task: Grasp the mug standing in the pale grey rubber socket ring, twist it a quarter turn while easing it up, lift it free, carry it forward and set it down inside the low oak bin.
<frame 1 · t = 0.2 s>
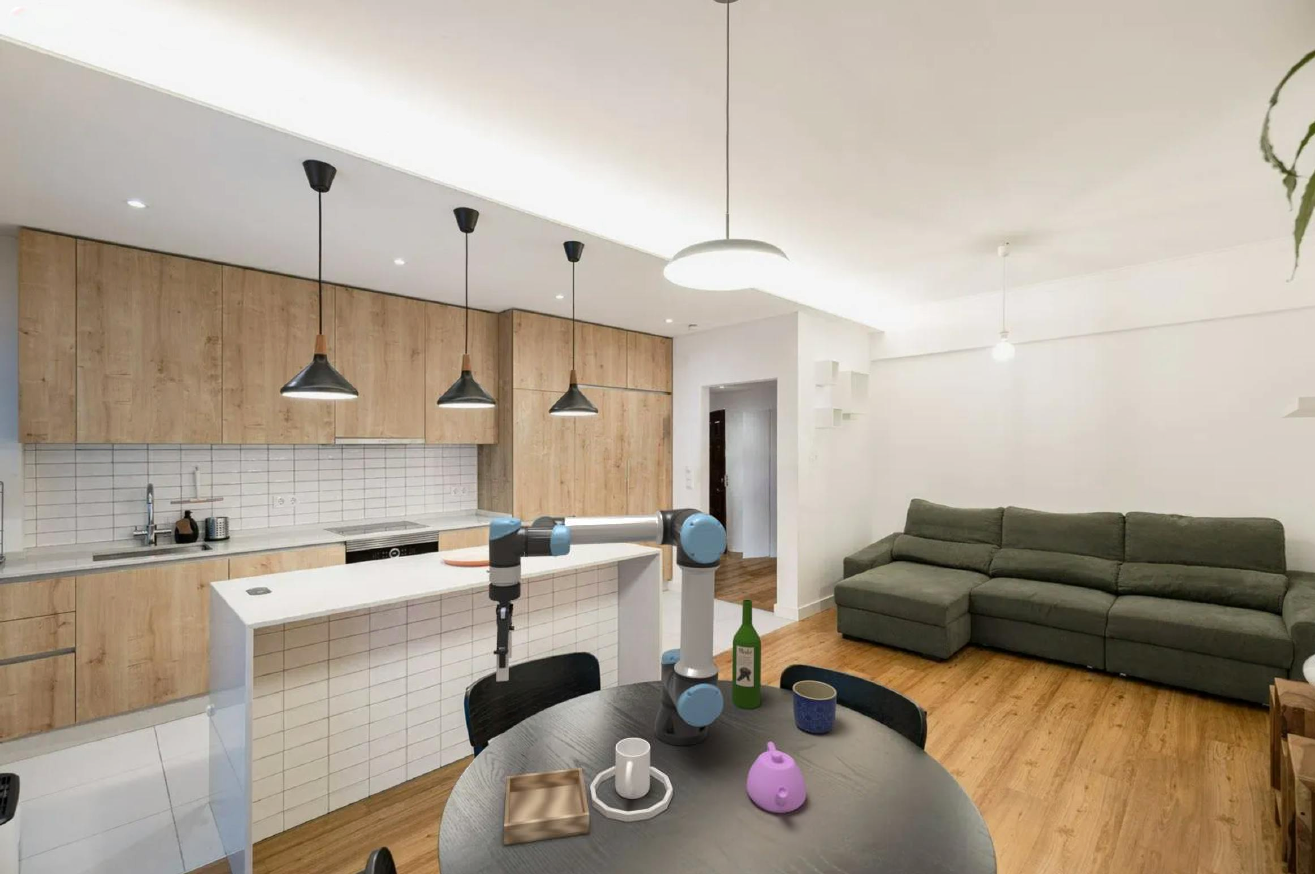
hand: (504, 668, 142), 28 cm above the table, fingers open, 13 cm apart
wine bottle: (746, 703, 185), on the table
planter: (813, 727, 170), on the table
oak bin: (545, 812, 131), on the table
socket ring: (631, 793, 138), on the table
mug: (631, 794, 138), resting in socket ring
teapot: (776, 800, 136), on the table
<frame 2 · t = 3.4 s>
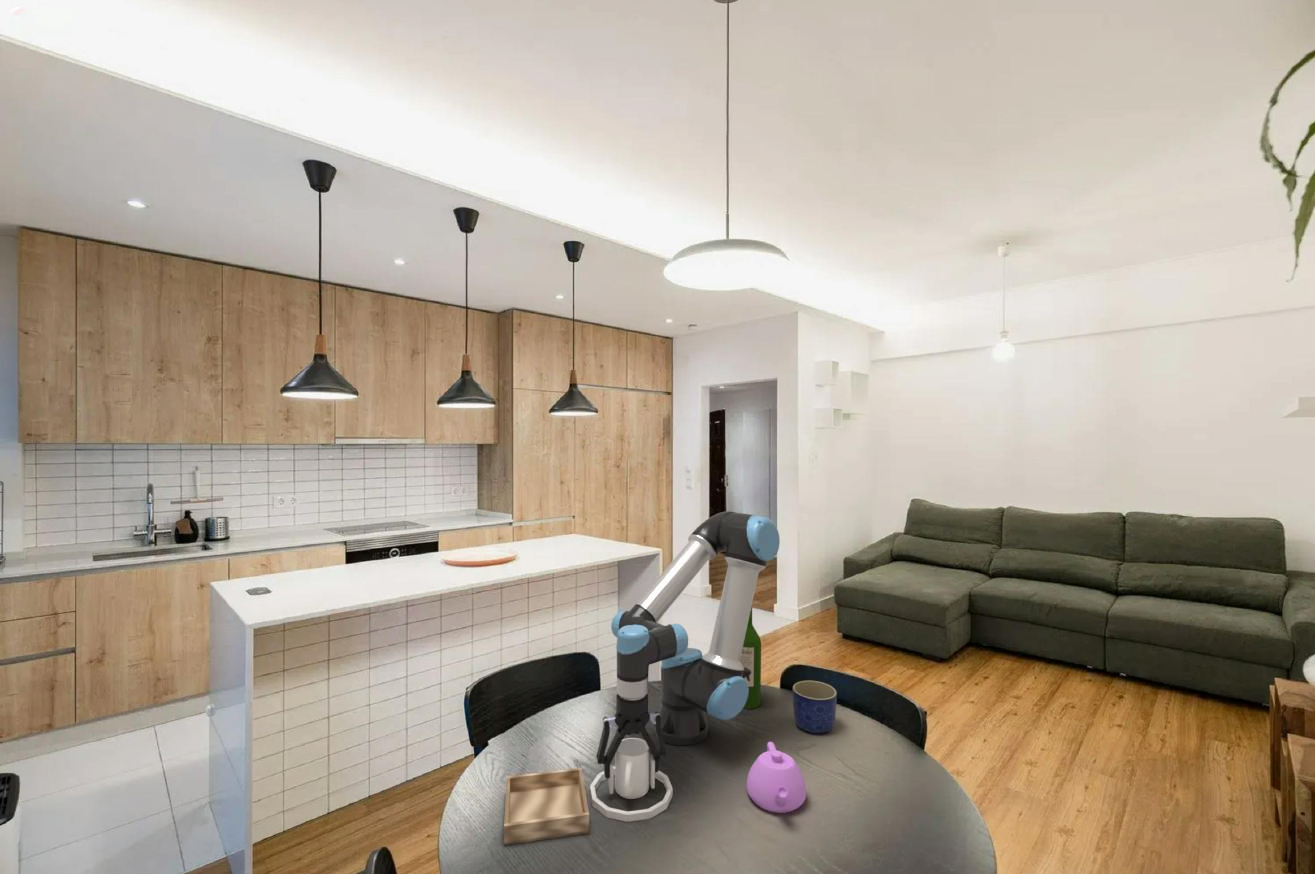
hand: (631, 787, 138), 2 cm above the table, fingers open, 9 cm apart
mug: (630, 794, 138), resting in socket ring, touching gripper
everything else where it was.
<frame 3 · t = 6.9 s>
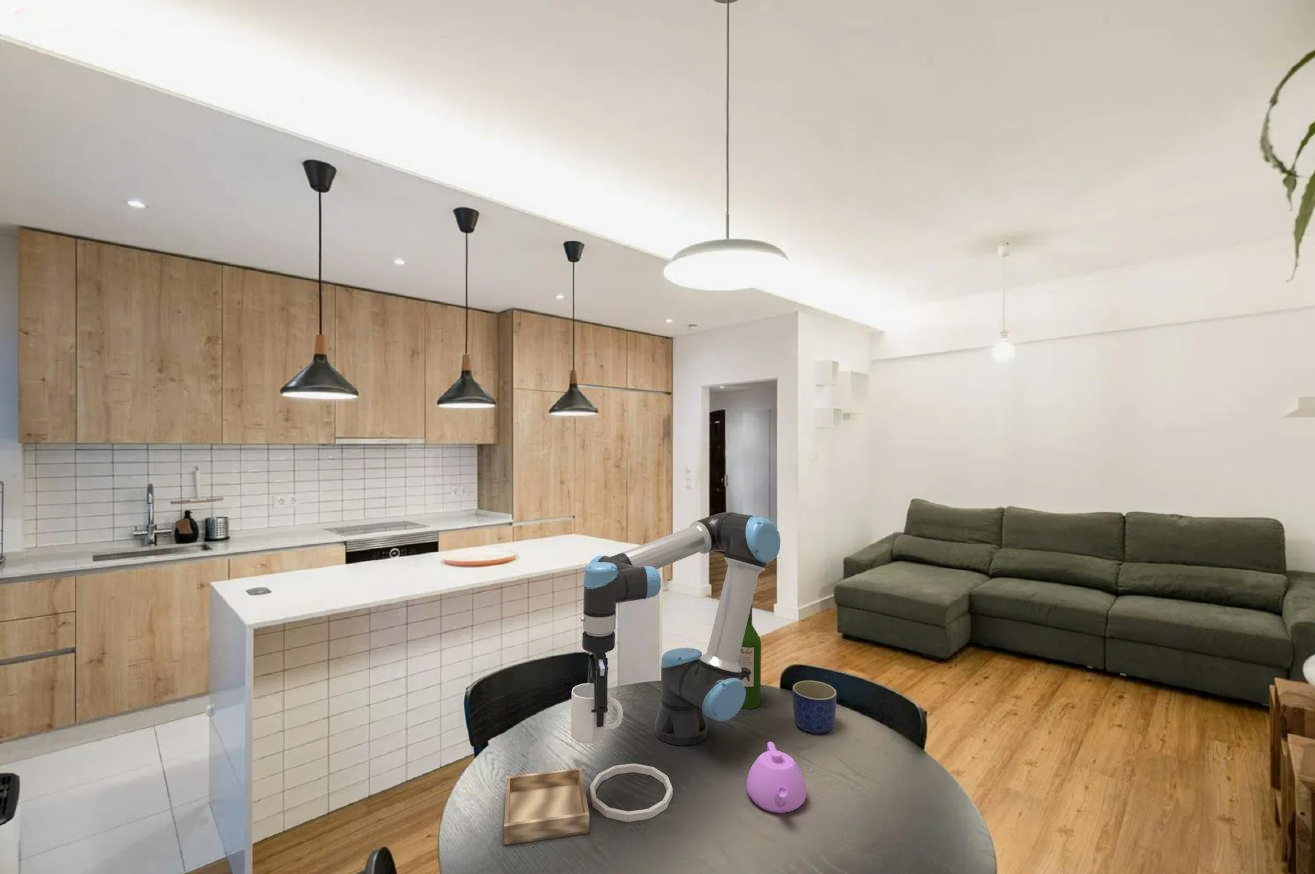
hand: (596, 729, 134), 17 cm above the table, fingers closed on mug, 8 cm apart
mug: (596, 736, 134), point 16 cm above the table, touching gripper
everything else where it was.
when the fingers open (4 cm above the table, at t = 10.2 s): mug drops 2 cm, resting on oak bin.
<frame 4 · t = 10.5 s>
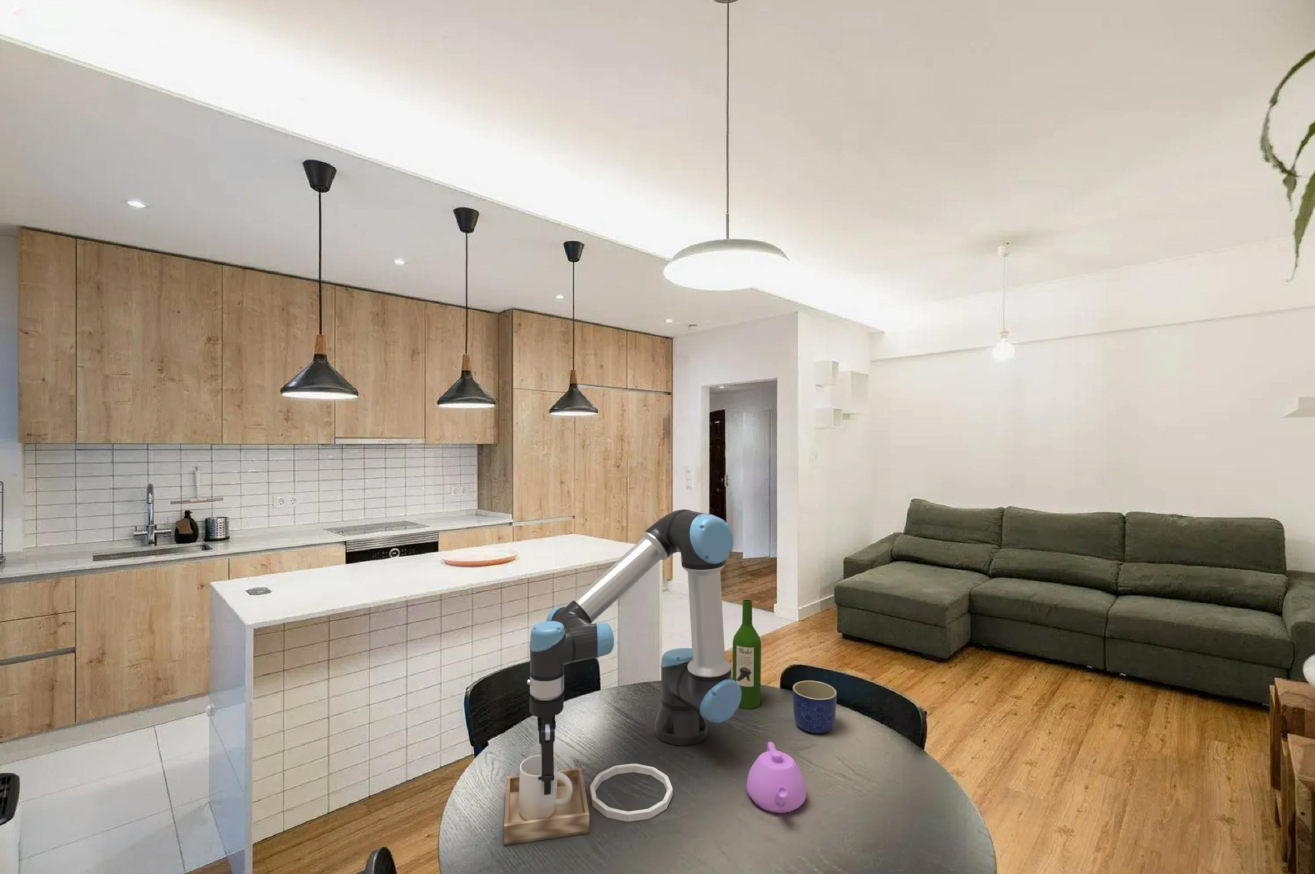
hand: (545, 789, 131), 5 cm above the table, fingers open, 11 cm apart
mug: (545, 812, 130), resting on oak bin
everything else where it was.
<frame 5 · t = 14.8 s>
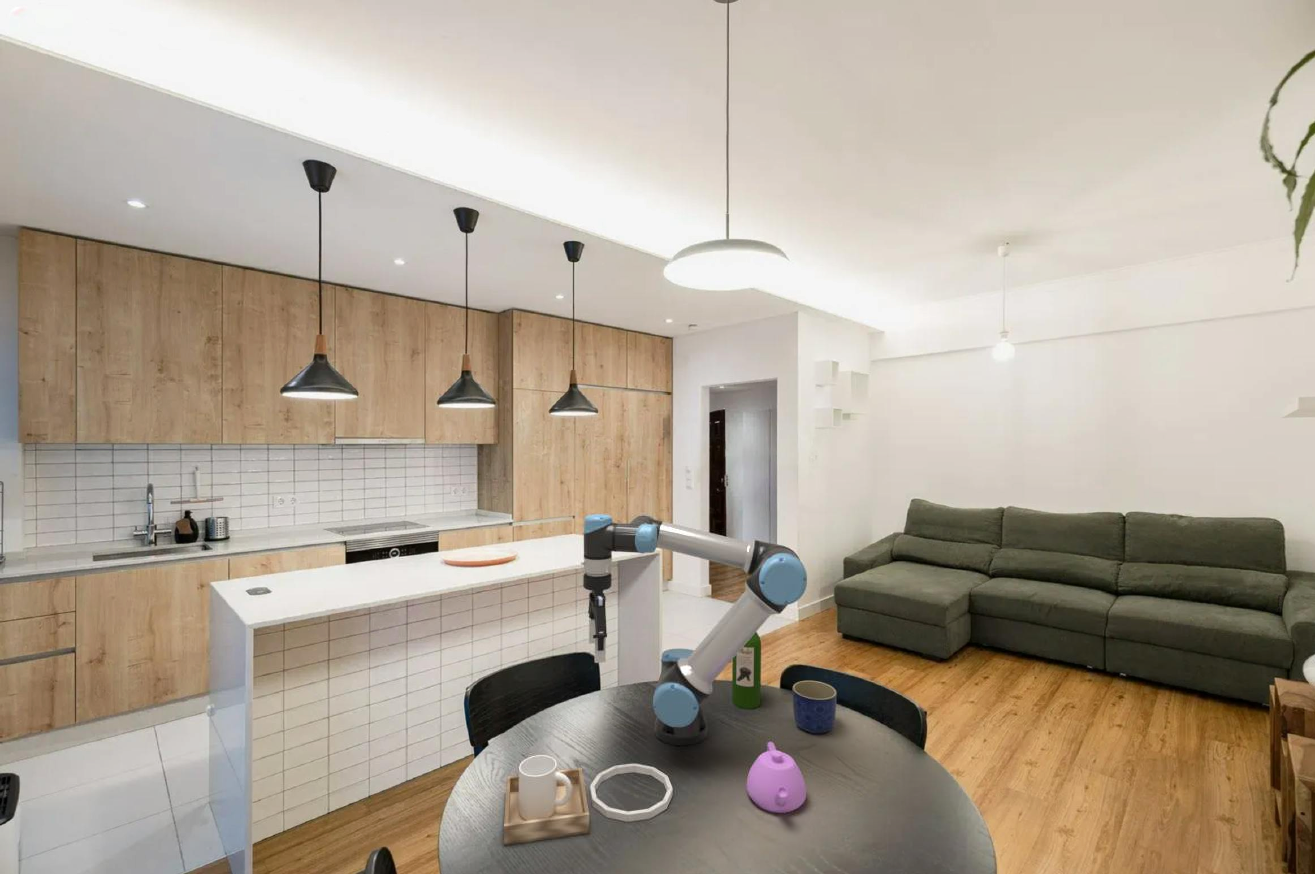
hand: (596, 652, 156), 27 cm above the table, fingers open, 13 cm apart
nothing on the table moved.
at the end: mug inside the target area on the oak bin (0.7 cm from its centre), point 0.4 cm above the oak bin's base; mug tilted 0°; the gripper is holding nothing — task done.
